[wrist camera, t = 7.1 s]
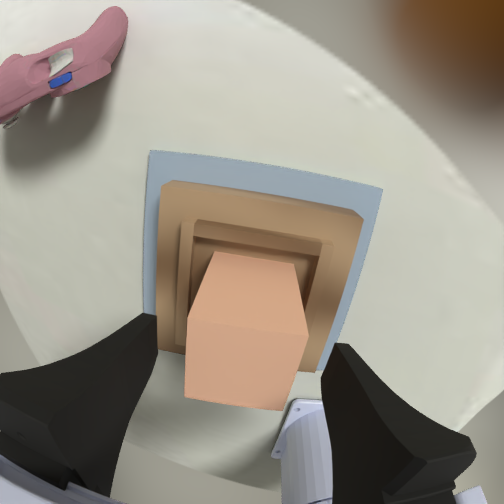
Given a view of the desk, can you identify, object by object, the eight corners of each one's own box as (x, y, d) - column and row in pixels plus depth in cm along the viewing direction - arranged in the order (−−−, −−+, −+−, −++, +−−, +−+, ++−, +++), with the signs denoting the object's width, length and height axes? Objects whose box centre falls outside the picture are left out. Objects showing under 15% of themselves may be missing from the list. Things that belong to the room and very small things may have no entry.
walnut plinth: (311, 352, 20) (316, 381, 17) (164, 330, 20) (152, 356, 17) (353, 209, 16) (369, 223, 14) (172, 179, 16) (155, 188, 13)
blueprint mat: (324, 366, 21) (325, 370, 20) (146, 339, 20) (145, 342, 20) (380, 188, 16) (383, 189, 16) (152, 150, 16) (150, 150, 15)
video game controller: (30, 105, 16) (-27, 154, 11) (14, 54, 13) (-52, 93, 8) (145, 64, 15) (97, 102, 11) (131, 1, 12) (73, 10, 7)
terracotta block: (278, 328, 17) (282, 411, 11) (207, 317, 17) (184, 396, 11) (293, 263, 15) (309, 335, 10) (214, 251, 15) (187, 317, 10)
